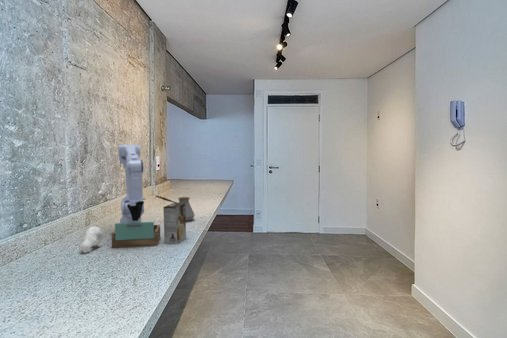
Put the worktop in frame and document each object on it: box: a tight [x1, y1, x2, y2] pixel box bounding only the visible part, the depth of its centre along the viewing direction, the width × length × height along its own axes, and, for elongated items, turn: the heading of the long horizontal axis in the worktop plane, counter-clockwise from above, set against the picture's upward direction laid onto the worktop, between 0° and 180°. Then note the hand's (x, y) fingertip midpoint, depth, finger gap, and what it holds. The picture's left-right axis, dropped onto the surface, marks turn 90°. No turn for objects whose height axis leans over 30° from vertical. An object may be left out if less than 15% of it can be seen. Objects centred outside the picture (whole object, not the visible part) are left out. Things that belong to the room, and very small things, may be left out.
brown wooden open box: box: [111, 224, 161, 249], centre depth 138 cm, size 12×18×6 cm, turn 100°
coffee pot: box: [154, 195, 195, 223], centre depth 177 cm, size 21×12×15 cm, turn 107°
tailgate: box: [114, 221, 155, 240], centre depth 132 cm, size 2×15×7 cm, turn 101°
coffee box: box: [163, 202, 187, 245], centre depth 140 cm, size 9×6×16 cm
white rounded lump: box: [79, 225, 104, 254], centre depth 129 cm, size 6×8×12 cm
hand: (136, 219), depth 136 cm, fingers open, 4 cm apart
